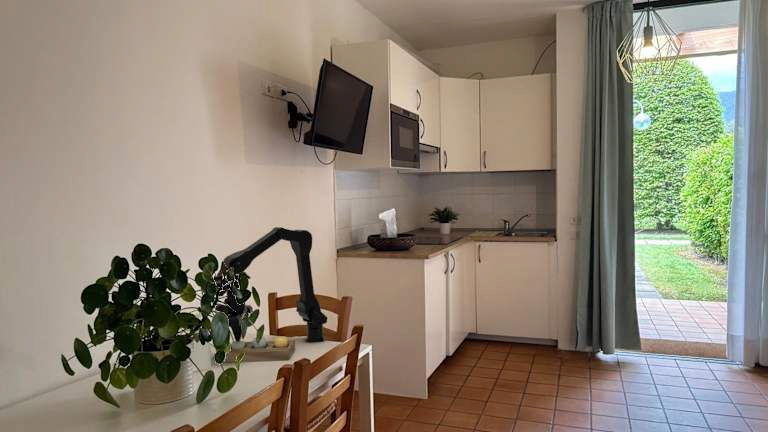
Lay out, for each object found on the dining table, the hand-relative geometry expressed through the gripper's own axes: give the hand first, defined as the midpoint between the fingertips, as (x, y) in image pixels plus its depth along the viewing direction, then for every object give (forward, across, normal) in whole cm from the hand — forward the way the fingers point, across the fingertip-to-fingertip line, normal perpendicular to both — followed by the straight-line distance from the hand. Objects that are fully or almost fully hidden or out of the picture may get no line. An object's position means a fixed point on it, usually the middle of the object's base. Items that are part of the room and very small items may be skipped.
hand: (237, 341), depth 174 cm
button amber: (+3, 0, +14) cm, 14 cm away
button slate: (+3, 0, +7) cm, 8 cm away
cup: (+5, +10, -10) cm, 15 cm away
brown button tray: (+5, 0, +7) cm, 8 cm away
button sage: (+4, 0, 0) cm, 4 cm away
